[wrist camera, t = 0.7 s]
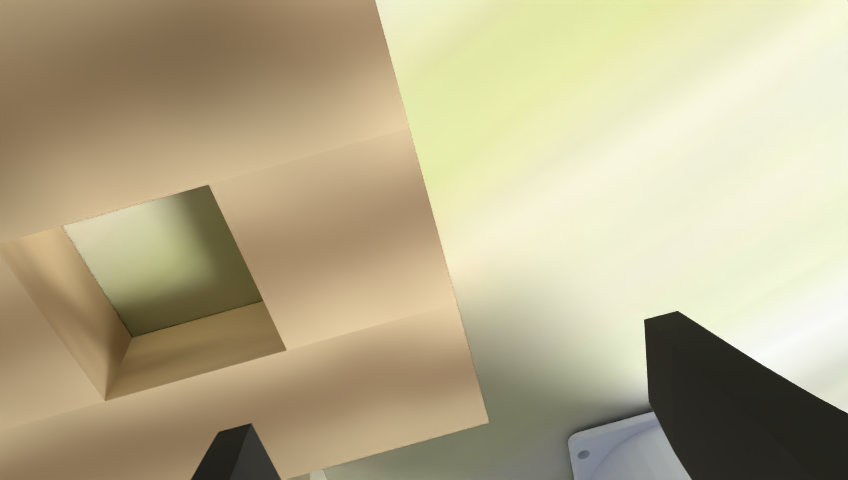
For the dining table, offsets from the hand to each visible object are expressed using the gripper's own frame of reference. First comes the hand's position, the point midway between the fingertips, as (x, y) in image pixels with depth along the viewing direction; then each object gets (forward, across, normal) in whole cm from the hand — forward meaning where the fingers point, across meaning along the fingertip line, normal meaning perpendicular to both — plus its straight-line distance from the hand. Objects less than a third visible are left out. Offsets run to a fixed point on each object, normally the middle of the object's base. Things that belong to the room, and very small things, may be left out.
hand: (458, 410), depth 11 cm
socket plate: (+10, +7, 0) cm, 12 cm away
